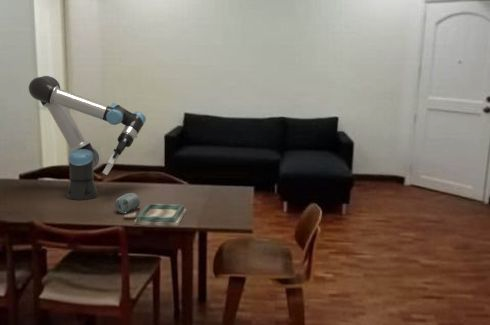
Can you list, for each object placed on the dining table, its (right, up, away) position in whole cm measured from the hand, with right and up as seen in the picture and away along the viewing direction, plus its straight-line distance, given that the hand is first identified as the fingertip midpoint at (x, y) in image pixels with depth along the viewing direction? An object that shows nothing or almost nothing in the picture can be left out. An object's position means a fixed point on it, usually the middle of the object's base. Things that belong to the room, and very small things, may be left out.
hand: (107, 168), depth 273 cm
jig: (+31, -22, -25) cm, 45 cm away
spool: (+13, -20, -15) cm, 28 cm away
